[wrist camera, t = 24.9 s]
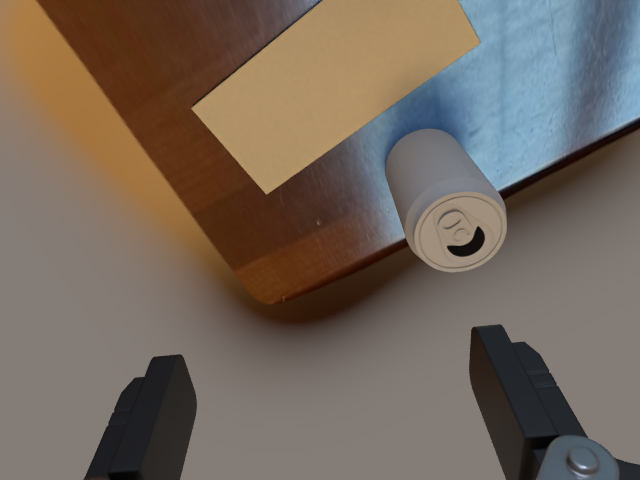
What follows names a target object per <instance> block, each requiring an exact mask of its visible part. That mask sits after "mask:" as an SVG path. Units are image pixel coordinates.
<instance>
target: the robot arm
mask: <svg viewBox="0 0 640 480" xmlns="http://www.w3.org/2000/svg"><path fill="white" fill-rule="evenodd" d="M469 373H470V381H471V385H472V389H473V392H474V395H475V398H476V400H477V403H478V406H479V408H480V411H481V414H482V416H483V419H484V421H485V424H486V427H487V429H488V432H489V434H490V437H491V440H492V443H493V446H494V448H495V451H496V454H497V456H498V459H499V462H500V464H501V467H502V470H503V472H504V475H505V477H506V480H640V465H638V464H633V463H628V462H624V461H622V460H619V459H616V458H614V457H613V456H612V455H611V453H610V452H608V451H607V449H605V448H604V447H603V446H602V445H600V444H598V443H597V442H595V441H593V440H591V439H589V438H588V436H587V435H586V434H585V432H584V430H583V428H582V427H581V425H580V423H579V421H578V420H577V418H576V416H575V415H574V413H573V411H572V409H571V408H570V406H569V404H568V403H567V401H566V399H565V397H564V396H563V394H562V392H561V390H560V389H559V387H558V386H557V385H556V382H555V380H554V378H553V377H552V375H551V373H549V370H548V368H547V366H546V364H545V363H544V361H543V359H542V357H541V356H540V354H539V353H537V352H536V351H535V350H534V349H533V348H531V347H530V346H529V345H528V344H526V343H525V342H516V343H511V341H510V339H509V337H508V335H507V333H506V331H505V329H504V328H503V326H502V325H500V324H498V325H488V326H478V327H473V328H472V330H471V346H470V362H469ZM196 409H197V401H196V394H195V390H194V387H193V384H192V381H191V378H190V375H189V372H188V369H187V366H186V363H185V360H184V358H183V356H182V355H169V356H158V357H153V358H152V360H151V361H150V364H149V366H148V369H147V372H146V374H145V377H138V378H134V379H133V381H132V382H131V383H130V384H129V385H128V386H127V387H126V388H125V389H124V390H123V392H122V393H121V395H120V397H119V399H118V402H117V404H116V406H115V409H114V413H112V416H111V418H110V420H109V425H108V426H107V428H106V430H105V432H104V434H103V437H102V439H101V441H100V444H99V446H98V448H97V451H96V453H95V455H94V458H93V460H92V462H91V465H90V467H89V469H88V471H87V474H86V476H85V478H84V480H180V477H181V473H182V469H183V465H184V461H185V457H186V453H187V449H188V445H189V441H190V437H191V432H192V429H193V425H194V420H195V416H196Z"/></svg>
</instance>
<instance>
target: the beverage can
mask: <svg viewBox="0 0 640 480" xmlns="http://www.w3.org/2000/svg"><path fill="white" fill-rule="evenodd" d="M385 172H386V178H387V182H388V185H389V188H390V191H391V194H392V197H393V200H394V203H395V206H396V209H397V212H398V215H399V218H400V221H401V224H402V227H403V230H404V233H405V236H406V239H407V242H408V244H409V246H410V248H411V249H412V251H413V252H414V253H415V254H416V255H417V256H418V257H420V258H421V259H423V260H424V261H425V262H426V263H427V264H429V265H430V266H431V267H433V268H436V269H438V270H442V271H446V272H460V271H467V270H470V269H473V268H476V267H478V266H480V265H482V264H484V263H485V262H487V261H488V260H489V259H490V258H492V257H493V256H494V255H495V254H496V252H497V251H498V250H499V248H500V247H501V245H502V243H503V241H504V239H505V236H506V230H507V221H506V209H505V205H504V202H503V200H502V198H501V196H500V194H499V193H498V192H497V191H496V189H495V188H494V187H493V186H492V184H491V183H490V182H489V181H488V179H487V178H486V177H485V175H484V174H483V173H482V172H481V170H480V169H479V168H478V167H477V165H476V164H475V163H474V161H473V160H472V159H471V158H470V156H469V155H468V154H467V153H466V151H465V150H464V149H463V147H462V146H461V145H460V144H459V142H458V141H457V140H456V139H455V138H454V137H453V136H451V135H450V134H448V133H446V132H444V131H441V130H438V129H421V130H416V131H414V132H411V133H409V134H407V135H406V136H404V137H403V138H401V139H400V140H399V141H398V142H397V143H396V144H395V145H394V147H393V148H392V150H391V151H390V153H389V155H388V158H387V161H386V168H385Z"/></svg>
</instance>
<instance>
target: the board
mask: <svg viewBox="0 0 640 480" xmlns="http://www.w3.org/2000/svg"><path fill="white" fill-rule="evenodd" d="M480 43H481V42H480V40H479V38H478V37H477V35H476V33H475V31H474V29H473V27H472V25H471V24H470V22H469V20H468V18H467V16H466V14H465V12H464V11H463V9H462V7H461V5H460V3H459V1H458V0H322V1H321V2H320V3H319V4H317V5H316V6H315V7H314V8H313V9H311V10H310V11H309V12H308V13H306V14H305V15H304V16H303V17H302V18H300V19H299V20H298V21H297V22H296V23H294V24H293V25H292V26H291V27H289V28H288V29H287V30H286V31H285V32H283V33H282V34H281V35H280V36H278V37H277V38H276V39H275V40H274V41H272V42H271V43H270V44H269V45H267V46H266V47H265V48H264V49H263V50H261V51H260V52H259V53H258V54H256V55H255V56H254V57H253V58H252V59H250V60H249V61H248V62H247V63H245V64H244V65H243V66H242V67H241V68H239V69H238V70H237V71H236V72H235V73H233V74H232V75H231V76H230V77H228V78H227V79H226V80H225V81H224V82H222V83H221V84H220V85H219V86H217V87H216V88H215V89H214V90H213V91H211V92H210V93H209V94H208V95H206V96H205V97H204V98H203V99H202V100H200V101H199V102H198V103H197V104H195V105H194V106H193V107H192V108H191V109H192V110H193V111H194V112H195V113H196V115H197V116H198V117H199V118H200V119H201V120H202V121H203V123H204V124H205V125H206V126H207V127H208V128H209V129H210V131H211V132H212V133H213V134H214V135H215V136H216V137H217V139H218V140H219V141H220V142H221V143H222V144H223V145H224V147H225V148H226V149H227V150H228V151H229V152H230V153H231V155H232V156H233V157H234V158H235V159H236V160H237V161H238V163H239V164H240V165H241V166H242V167H243V168H244V169H245V171H246V172H247V173H248V174H249V175H250V176H251V178H252V179H253V180H254V181H255V182H256V183H257V184H258V186H259V187H260V188H261V189H262V190H263V191H264V192H265V194H268V193H269V192H271V191H272V190H274V189H275V188H277V187H278V186H279V185H281V184H282V183H284V182H285V181H286V180H288V179H289V178H291V177H292V176H293V175H295V174H296V173H298V172H299V171H301V170H302V169H303V168H305V167H306V166H308V165H309V164H310V163H312V162H313V161H315V160H316V159H318V158H319V157H320V156H322V155H323V154H325V153H326V152H327V151H329V150H330V149H332V148H333V147H334V146H336V145H337V144H339V143H340V142H342V141H343V140H344V139H346V138H347V137H349V136H350V135H351V134H353V133H354V132H356V131H357V130H358V129H360V128H361V127H363V126H364V125H366V124H367V123H368V122H370V121H371V120H373V119H374V118H375V117H377V116H378V115H380V114H381V113H382V112H384V111H385V110H387V109H388V108H390V107H391V106H392V105H394V104H395V103H397V102H398V101H399V100H401V99H402V98H404V97H405V96H406V95H408V94H409V93H411V92H412V91H414V90H415V89H416V88H418V87H419V86H421V85H422V84H423V83H425V82H426V81H428V80H429V79H430V78H432V77H433V76H435V75H436V74H438V73H439V72H440V71H442V70H443V69H445V68H446V67H447V66H449V65H450V64H452V63H453V62H454V61H456V60H457V59H459V58H460V57H462V56H463V55H464V54H466V53H467V52H469V51H470V50H471V49H473V48H474V47H476V46H477V45H478V44H480Z"/></svg>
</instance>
